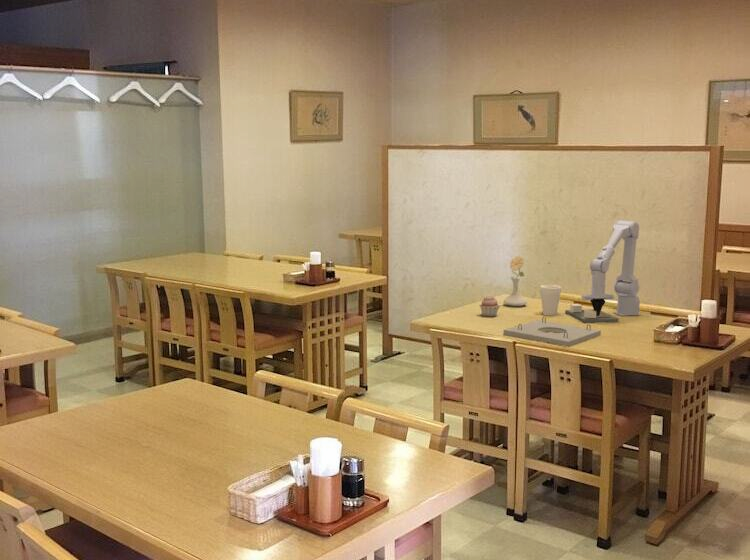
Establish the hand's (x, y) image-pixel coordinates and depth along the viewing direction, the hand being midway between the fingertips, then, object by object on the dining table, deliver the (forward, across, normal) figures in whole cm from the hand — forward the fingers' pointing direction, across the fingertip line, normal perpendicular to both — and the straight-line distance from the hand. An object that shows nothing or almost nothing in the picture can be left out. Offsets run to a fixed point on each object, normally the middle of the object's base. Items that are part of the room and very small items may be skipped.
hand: (596, 315), depth 370 cm
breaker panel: (+2, 0, +7) cm, 7 cm away
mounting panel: (+3, -30, -24) cm, 39 cm away
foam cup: (+3, -16, +17) cm, 23 cm away
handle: (+1, -4, +14) cm, 15 cm away
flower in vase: (+3, -24, +39) cm, 46 cm away
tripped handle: (+1, -3, 0) cm, 3 cm away
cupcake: (+3, -44, +18) cm, 48 cm away
